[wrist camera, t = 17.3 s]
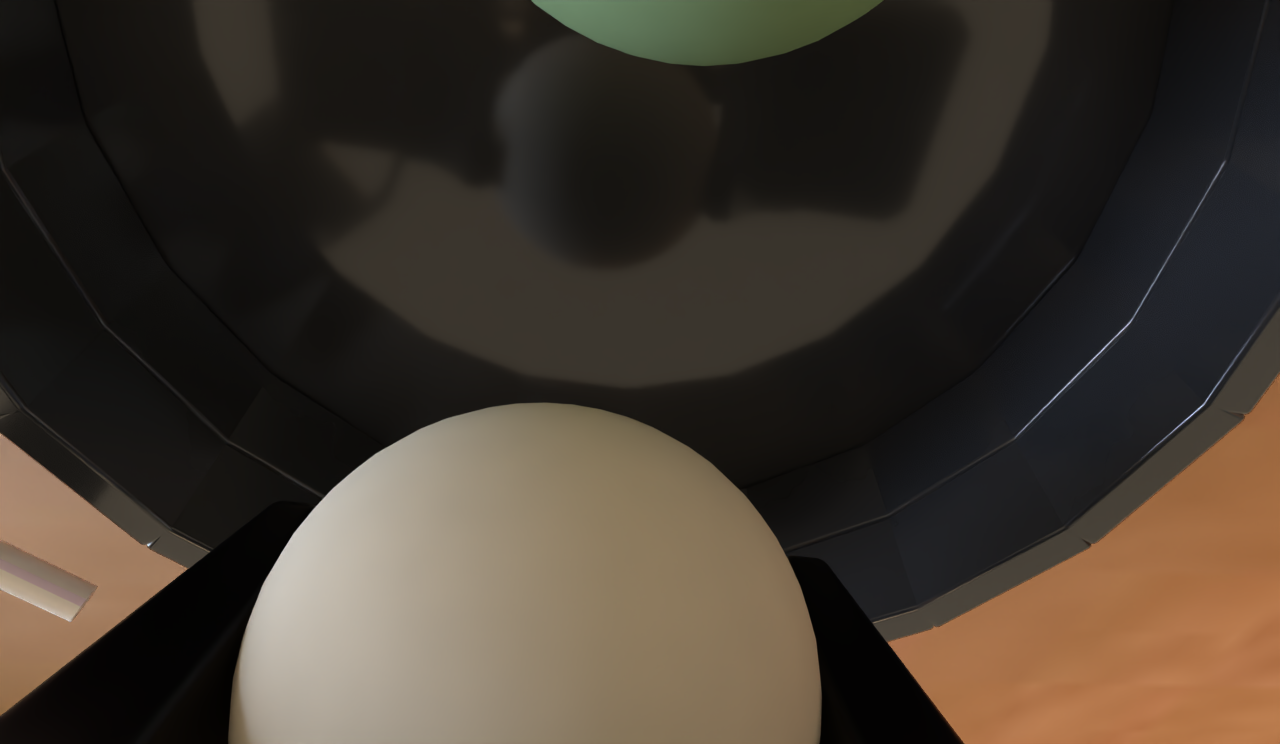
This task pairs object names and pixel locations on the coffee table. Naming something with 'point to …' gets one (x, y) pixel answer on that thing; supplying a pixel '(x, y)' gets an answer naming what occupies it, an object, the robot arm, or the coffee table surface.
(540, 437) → the cream ball
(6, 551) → the smoothie
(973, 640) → the coffee table surface
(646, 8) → the green ball
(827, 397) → the pan
